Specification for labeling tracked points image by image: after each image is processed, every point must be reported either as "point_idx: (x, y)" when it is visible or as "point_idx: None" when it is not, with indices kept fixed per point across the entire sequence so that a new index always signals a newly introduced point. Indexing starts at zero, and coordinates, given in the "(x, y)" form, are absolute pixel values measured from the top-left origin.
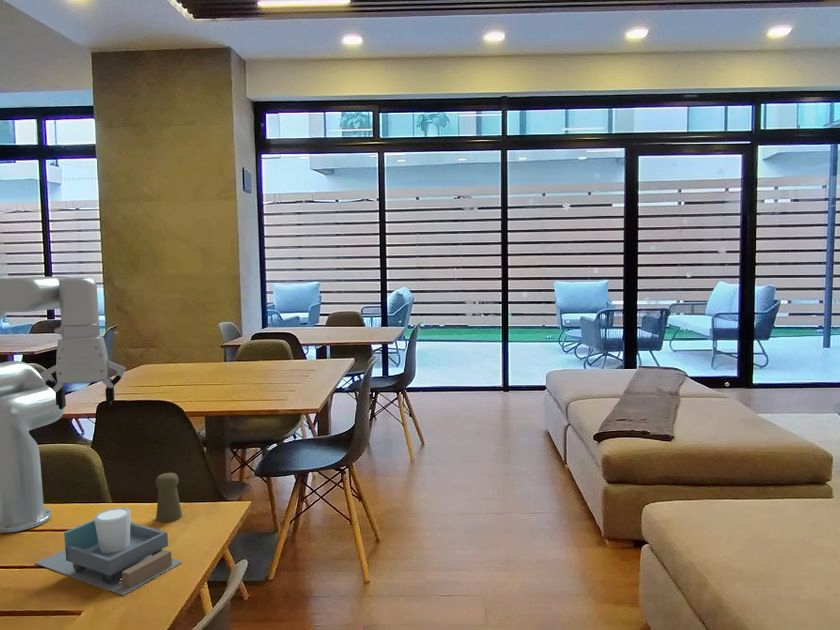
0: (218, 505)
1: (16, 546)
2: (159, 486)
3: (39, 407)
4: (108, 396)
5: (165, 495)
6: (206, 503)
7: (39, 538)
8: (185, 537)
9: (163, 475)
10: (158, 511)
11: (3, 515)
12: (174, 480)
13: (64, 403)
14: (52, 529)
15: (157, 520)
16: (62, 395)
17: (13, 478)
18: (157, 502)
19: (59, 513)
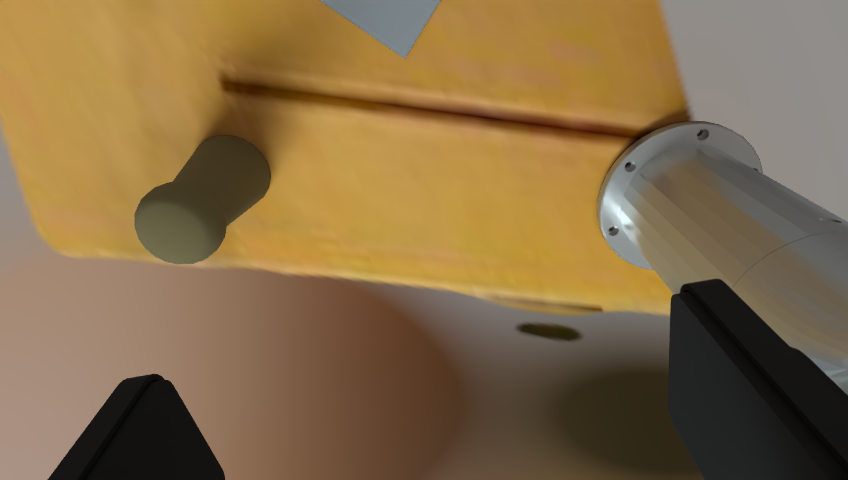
0: (118, 240)
1: (637, 16)
2: (195, 187)
3: None
4: (61, 473)
5: (190, 174)
6: None
7: (583, 69)
8: (97, 8)
9: (176, 225)
10: (240, 158)
11: (734, 158)
12: (137, 208)
13: (689, 406)
14: (565, 133)
15: (254, 149)
16: (779, 466)
17: (773, 210)
18: (244, 185)
19: (582, 243)
